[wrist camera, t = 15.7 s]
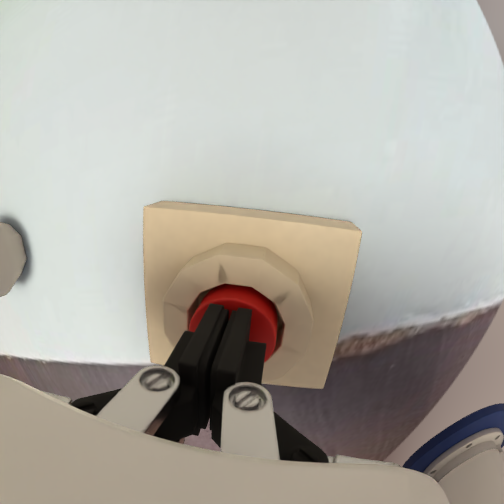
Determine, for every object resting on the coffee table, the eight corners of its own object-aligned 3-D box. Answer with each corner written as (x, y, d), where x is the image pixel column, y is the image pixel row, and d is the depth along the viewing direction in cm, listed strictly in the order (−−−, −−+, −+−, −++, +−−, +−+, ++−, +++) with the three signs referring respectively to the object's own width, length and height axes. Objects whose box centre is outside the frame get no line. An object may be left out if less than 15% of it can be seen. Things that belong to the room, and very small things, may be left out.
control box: (352, 221, 14) (374, 241, 11) (320, 366, 17) (325, 411, 13) (161, 200, 15) (123, 212, 11) (163, 343, 18) (138, 381, 14)
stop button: (282, 287, 13) (282, 305, 11) (272, 354, 14) (270, 377, 12) (200, 276, 13) (188, 292, 11) (199, 343, 14) (189, 364, 12)
